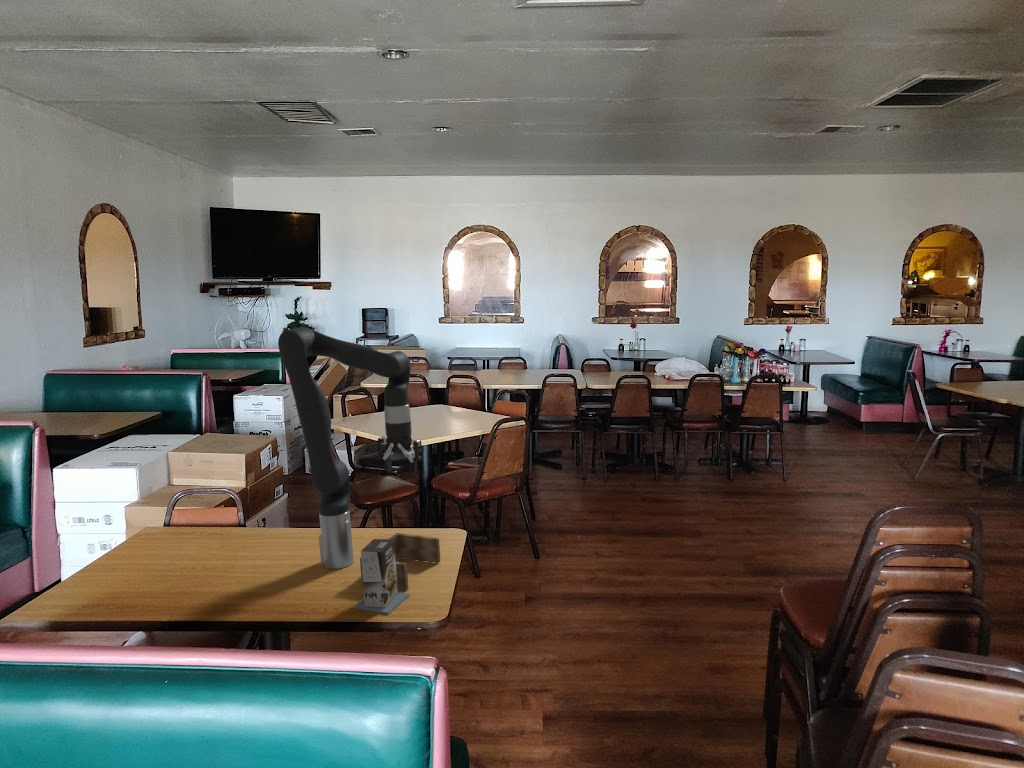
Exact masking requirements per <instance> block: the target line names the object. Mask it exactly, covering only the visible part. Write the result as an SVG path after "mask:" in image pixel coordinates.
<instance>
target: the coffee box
mask: <svg viewBox="0 0 1024 768" xmlns="http://www.w3.org/2000/svg"><path fill="white" fill-rule="evenodd" d="M360 558H361V561H362V574H363V584H362V586H363V599H364V601H365V606H369V607H381V608H385V607H386V606H387V605H388V604H389V603H390V602H391V600H392V599H393V598H394V597H395V596H396V594H397V593H398V592H399V590H398V589H397V575H396V562H397V561H396V562H395V548H394V540H393V539H389V538H373V539H372V540H371V541H369V542H368V544H366V546H365V547H363V548H362V550H360Z"/></svg>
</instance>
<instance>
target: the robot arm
mask: <svg viewBox="0 0 1024 768" xmlns="http://www.w3.org/2000/svg"><path fill="white" fill-rule="evenodd" d="M277 347H278V350H279V354H280V357H281V360H282V363H283V366H284V368H285V371H286V373H287V376H288V379H289V383H290V386H291V391H292V394H293V398H294V402H295V407H296V411H297V416H298V420H299V423H300V427H301V430H302V434H303V439H304V442H305V446H306V450H307V455H308V461H309V468H310V476H311V482H312V484H313V486H314V488H315V490H316V491H317V492H318V493H320V494H321V497H320V500H319V503H318V515H319V526H320V535H318V544H319V555H320V562H321V563H320V565H321V566H324V567H325V568H326V569H329V570H330V569H332V570H336V569H342V568H347V567H348V566H350V565H352V564H353V563H354V562H355V558H354V548H353V546H354V545H353V535H352V525H351V517H350V516H351V513H350V501H351V483H350V481H351V480H350V473H349V468H348V466H347V464H345V462H343V461H342V460H341V459H337V458H334V456H333V452H332V444H331V442H332V441H331V440H332V439H331V438H332V416H331V415H332V414H331V411H330V406H329V403H328V400H327V397H326V395H325V394H326V393H324V391H323V390H322V388H321V387H320V386H319V385H318V383H317V381H315V379H314V377H313V376H312V373H311V370H310V368H309V363H308V357H310V356H312V357H313V356H315V357H316V356H317V357H325V358H326V357H327V358H330V359H332V360H335V361H337V362H339V363H340V364H343V365H344V366H347V367H351V368H353V369H354V368H355V369H357V370H358V369H359V370H364V371H368V372H370V373H373V374H375V375H377V376H380V377H383V378H388V382H387V384H386V386H385V387H384V390H383V396H384V397H383V398H384V412H383V413H384V426H385V427H384V429H385V436H380V437H378V438H377V457H378V458H381V459H383V462H384V470H385V472H387V473H390V472H392V470H393V465H392V464H393V462H392V461H393V460H392V456H393V455H394V454H400V455H404V456H405V457H406V458H407V459H408V461H409V470H410V471H409V473H410V475H411V476H412V475H416V474H417V472H418V462H419V461H421V460H423V458H424V456H423V455H424V454H423V447H422V440H421V439H415V440H413V439H412V420H411V418H412V417H411V408H410V400H409V384H410V379H411V378H410V377H411V361H410V359H409V356H408V355H407V354H406V353H405V352H404V351H401V350H395V351H392V352H381V351H378V350H377V348H374V347H372V346H368V345H364V344H360V343H355V342H350V341H346V340H342V339H338V338H335V337H331V336H329V335H325V334H323V333H321V332H318V331H316V330H314V329H311V328H309V327H305V326H299V327H294V328H290V329H286V330H284V331H282V332H281V333H280V335H279V337H278V340H277ZM387 446H388V448H387Z"/></svg>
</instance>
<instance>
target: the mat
mask: <svg viewBox="0 0 1024 768" xmlns="http://www.w3.org/2000/svg"><path fill="white" fill-rule="evenodd" d="M410 596H411V594H410V593H405V592H399V591H398V593H397V594H396V596H395V597H394V598H393V599H392V600H391V602H390V603H389V604H388V605H387V606H386V607H385V608H381V607H369V606H365V601H364V598H362V599H361V600H360V601H358V602H357V603H356V604H355V605H354V606H353V609H355V608H356V609H355V610H357V609H358V610H362V611H367V612H373V613H378V614H384V615H389V614H391V613H392V612H393V611H394V610H395V609H397V608H398V606H400V605H401V604H403V602H404V601H406V600H407V599H408V598H409V597H410Z"/></svg>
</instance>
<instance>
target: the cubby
mask: <svg viewBox="0 0 1024 768" xmlns="http://www.w3.org/2000/svg"><path fill="white" fill-rule="evenodd" d="M388 539H393V540H394V548H395V562H396V575H397V589H398V591H402V592H403V591H405V592H407V591H409V577H408V576H409V575H408V563H407V562H400V561H399V560H400V559H401V558H402V559H403V560H408V559H410V561H415V560H418V561H417V562H422V561H428V562H427V563H429V562H435V563H434V564H436V563H439V562H440V561H441V549H440V548H441V547H440V546H441V545H440V538H439V537H433V536H425V535H424V536H423V535H418V534H417V535H416V534H410V533H408V534H407V533H402V532H396V533H394V534H393V535H392V536H390V537H389V538H388ZM398 559H399V560H398ZM402 559H401V560H402ZM359 563H360V565H359V566H360V576H361V585H363V574H362V561H361V557H359ZM440 563H441V562H440ZM440 563H439V564H440Z"/></svg>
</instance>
